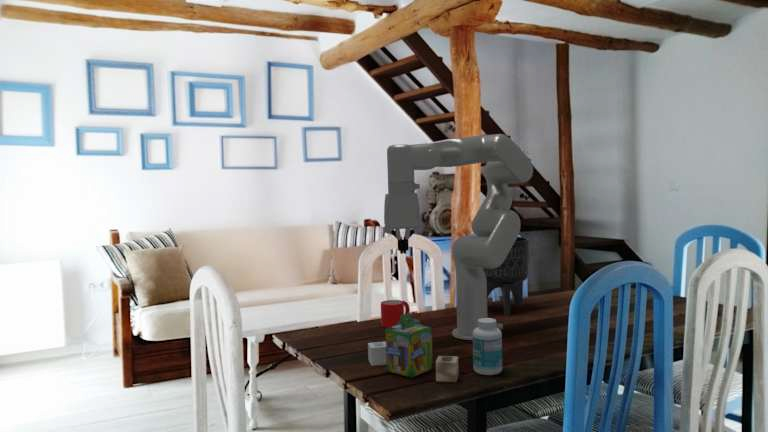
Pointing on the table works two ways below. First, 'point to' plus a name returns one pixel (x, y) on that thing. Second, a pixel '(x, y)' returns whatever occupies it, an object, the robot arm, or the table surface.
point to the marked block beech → (447, 369)
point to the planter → (510, 274)
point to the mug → (392, 312)
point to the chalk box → (408, 348)
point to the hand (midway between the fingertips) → (403, 253)
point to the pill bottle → (487, 347)
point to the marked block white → (377, 353)
